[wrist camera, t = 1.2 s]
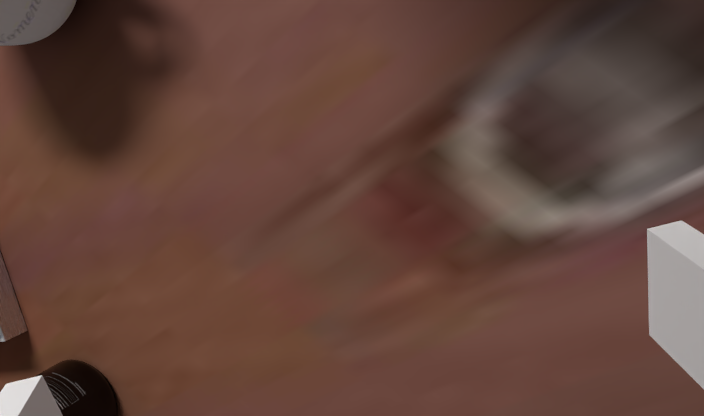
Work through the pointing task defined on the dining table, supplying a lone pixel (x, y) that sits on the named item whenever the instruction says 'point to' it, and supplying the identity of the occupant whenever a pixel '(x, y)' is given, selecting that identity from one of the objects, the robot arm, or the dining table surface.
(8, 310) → the shadow box frame
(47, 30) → the teacup
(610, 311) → the dining table surface
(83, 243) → the dining table surface
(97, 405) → the supplement bottle
